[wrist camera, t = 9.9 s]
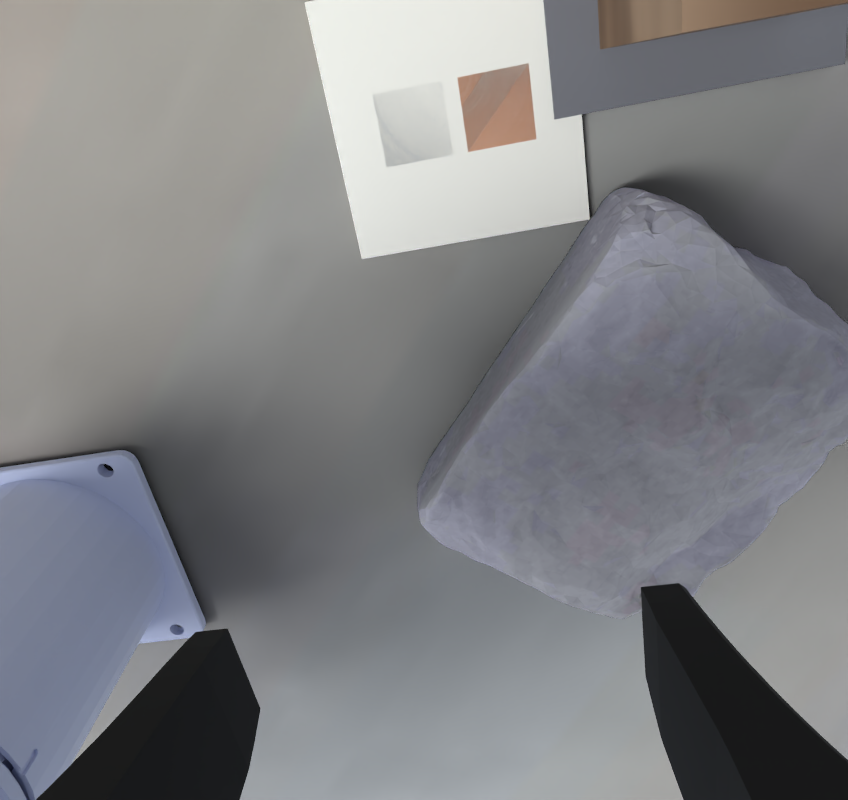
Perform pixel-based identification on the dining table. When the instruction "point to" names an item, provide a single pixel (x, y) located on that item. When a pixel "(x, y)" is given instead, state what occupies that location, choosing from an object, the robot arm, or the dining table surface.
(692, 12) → the walnut block
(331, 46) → the cream tile
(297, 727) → the dining table surface
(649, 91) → the charcoal mat
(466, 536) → the stone block
